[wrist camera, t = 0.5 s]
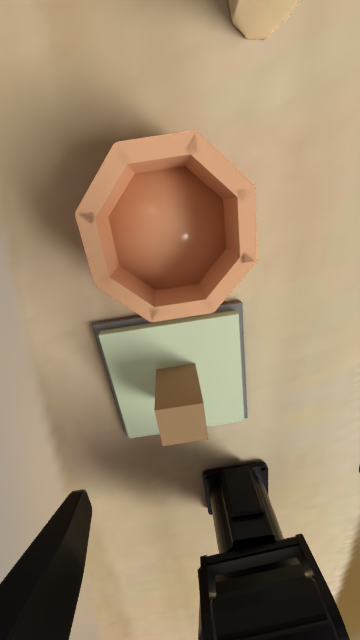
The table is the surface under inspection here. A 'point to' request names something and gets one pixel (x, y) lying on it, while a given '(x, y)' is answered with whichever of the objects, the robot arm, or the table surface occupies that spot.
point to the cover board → (172, 351)
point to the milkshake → (260, 16)
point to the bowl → (168, 226)
